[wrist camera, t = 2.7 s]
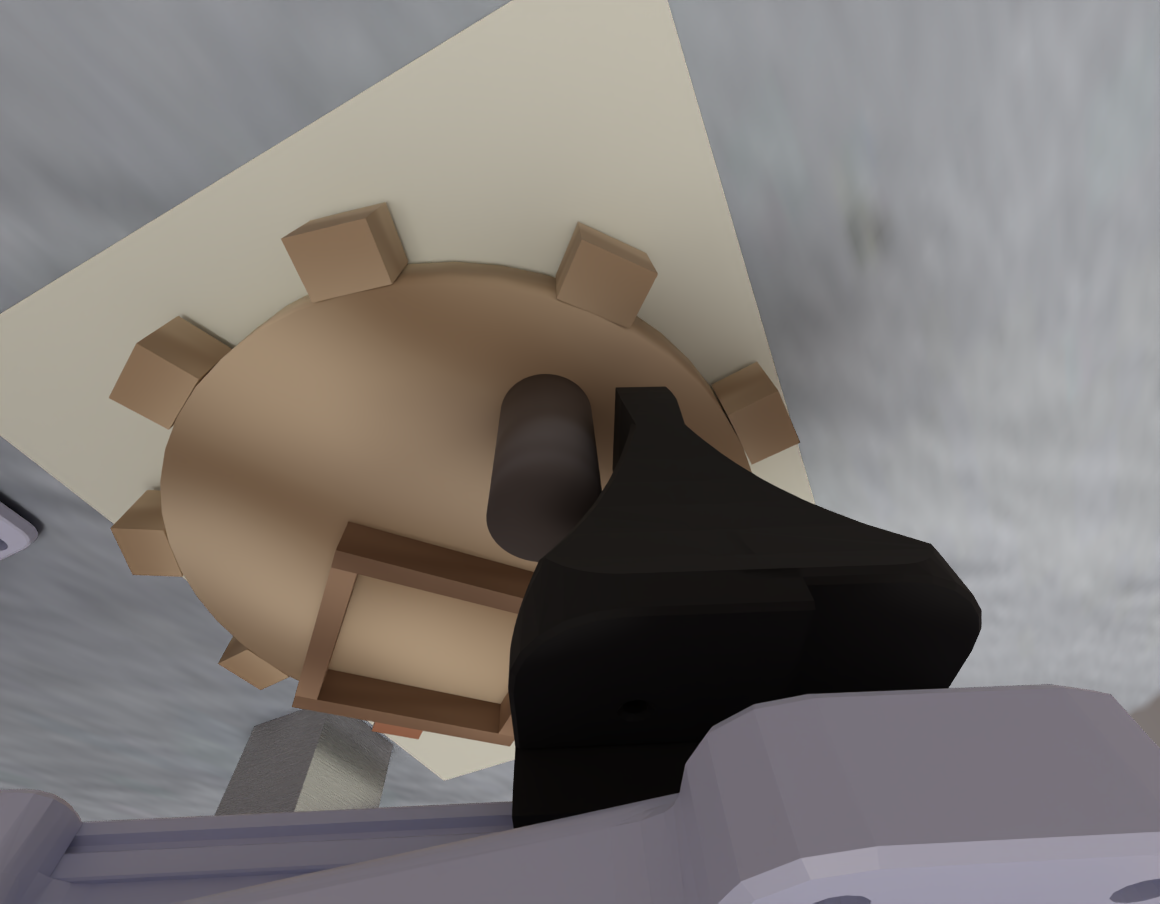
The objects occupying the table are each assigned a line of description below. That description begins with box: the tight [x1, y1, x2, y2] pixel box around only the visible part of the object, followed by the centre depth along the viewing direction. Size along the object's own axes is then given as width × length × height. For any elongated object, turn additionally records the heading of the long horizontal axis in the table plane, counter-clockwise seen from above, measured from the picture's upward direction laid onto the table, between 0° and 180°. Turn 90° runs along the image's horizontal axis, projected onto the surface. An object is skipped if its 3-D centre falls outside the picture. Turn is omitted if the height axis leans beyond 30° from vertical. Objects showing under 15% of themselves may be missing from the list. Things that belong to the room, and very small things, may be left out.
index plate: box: [0, 0, 815, 781], centre depth 17 cm, size 18×22×2 cm
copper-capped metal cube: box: [214, 709, 393, 816], centre depth 22 cm, size 4×4×5 cm
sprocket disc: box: [109, 202, 800, 747], centre depth 14 cm, size 17×17×5 cm
